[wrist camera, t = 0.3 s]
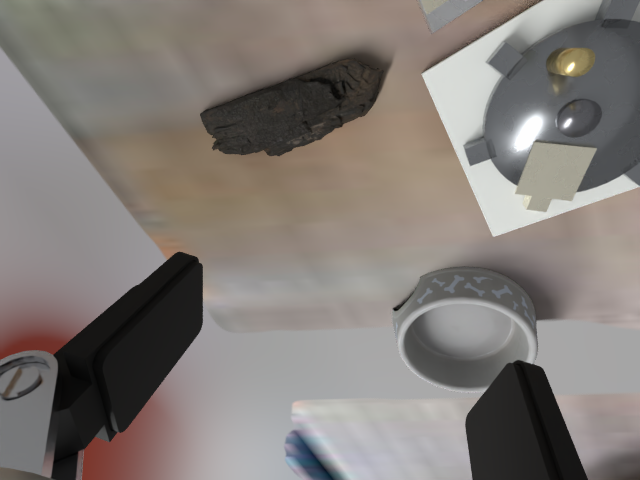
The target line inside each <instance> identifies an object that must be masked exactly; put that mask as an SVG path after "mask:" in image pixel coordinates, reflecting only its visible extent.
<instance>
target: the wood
mask: <svg viewBox="0 0 640 480" xmlns="http://www.w3.org/2000/svg"><path fill="white" fill-rule="evenodd" d="M382 74H383V70H380V69H378V68H377V69H372V68H370V67H369V66H368V65H365V64H362V63H361V62H359V61H357V60H355V59H345V60H341V61H339V62H336V63H331V64H329V65H327V66H325V67H323V68H320V69H318V70H316V71H313V72H309V73H307V74H305V75H302V76H299V77H297V78H294V79H289V80H288V81H286V82H283V83H280V84H278V85H277V86H273V87H270V88H267V89H263V90H260V91H258V92H255V93H251V94H247V95H246V96H244V97H241V98H238V99H235V100H233V101H231V102H229V103H227V104H225V105H222V106H217V107H215V108H213V109H210V110H206V111H204V112H202V113H201V114H200V116H201V119H202V122H203V124H204V126H205V128H206V130H207V132H208V133H209V134H210V135H213V137H212V138H216V139H217V140H216V141H215V142H214V145H213V147H212V149H213V150H215V149H219V151H222V152H223V153H225V154H241V155H246V154H250V153H254V152H255V153H257V152H260V151H262V150H264V151H265V152H266V153H267V155H269V156H274V155H277V156H280V155H282V154H284V153H286V152H289V151H292V149H293V148H296V147H300V146H305V145H307V144H309V143H311V142H314V141H315V140H321V139H322V138H323V137H324V136H325V135H326V134H328V133H330V132H332V131H333V129H334V128H339V127H342V125H343V124H344V123H347V122H349V121H352V120H354V119H356V118H358V117H362V116H365V115H366V114H367V112H368V111H369V110H370V109H371V107H372V106H373V104H374V102H375V100H376V96H377V94H378V92H377V90H378V87H379V83H380V79H381V76H382Z"/></svg>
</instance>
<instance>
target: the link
mask: <svg viewBox="0 0 640 480" xmlns="http://www.w3.org/2000/svg"><path fill="white" fill-rule="evenodd" d="M481 1H483V0H417V2H418V5H419V7H420V9H421V12H422V14H423V17H424V19H425V22H426V24H427V26H428V29H429V31H430V34H432V33H434V32H435V31H437V30H438V29H440V28H442V27H443V26H445V25H446V24H448V23H449V22H451V21H452V20H454V19H455V18H457V17H458V16H460V15H461V14H463V13H465V12H466V11H468V10H469V9H471V8H472V7H474V6H475V5H477V4H478V3H480V2H481Z"/></svg>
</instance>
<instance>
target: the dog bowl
mask: <svg viewBox="0 0 640 480" xmlns="http://www.w3.org/2000/svg"><path fill="white" fill-rule="evenodd" d="M392 324H393V328H394V331H395V336H396V341H397V346H398V350H399V353H400V356H401V358H402V359H403V361H404V363H405V364H406V365H407V366H408V368H409V369H410V370H411V371H412V372H413V373H415V374H416V375H417V376H418V377H420V378H422V379H423V380H425V381H426V382H428V383H430V384H432V385H435V386H437V387H440V388H443V389H447V390H452V391H457V392H467V393H471V392H472V393H474V392H475V393H476V392H485V391H486V390H487V389H488V387H489V386H490V385H491V383H492V382H493V381H494V380H495V378H496V377H497V376H498V374H499V373H500V372H501V371H502V369H503V368H504V367H505V365H506V364H507V363H513V362H514V361H516V360H521V361H524V362H527V363H531V364H534V362H535V360H536V356H537V352H538V342H537V331H536V313H535V309H534V306H533V303H532V301H531V299H530V297H529V296H528V294H527V293H526V292H525V291H524V289H523V288H522V287H520V286H519V285H518V284H517V283H516V282H514V281H513V280H511V279H510V278H508V277H506V276H504V275H502V274H499V273H497V272H494V271H491V270H487V269H482V268H475V267H453V268H446V269H441V270H437V271H434V272H431V273H428V274H425V275H423V276H421V277H420V280H419V284H418V286H417V288H416V290H415V291H414V293H413V294H412V296H411V297H410V298H409V299H408V301H407V302H406V303H405V304H404V305H403V306H402V307H401V308H400V309H399V310H398V311H394V310H393V309H392Z"/></svg>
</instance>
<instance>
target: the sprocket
mask: <svg viewBox="0 0 640 480" xmlns="http://www.w3.org/2000/svg"><path fill="white" fill-rule="evenodd" d="M639 2H640V0H603V1H602V3H601V6H600V8H599V11H598V13H597V16H596V18H595V20H594V21H587V22H582V23H578V24H574V25H571V26H568V27H565V28H562V29H560V30H557V31H555V32H553V33H551V34H549V35H547V36H545V37H544V38H542V39H540V40H539V41H537V42H536V43H534V44H533V45H531V46H530V47H529V48H527V49H526V50H525V51H524V52H522V53H521V54H520V53H519V52H518V51H516V50H515V49H514V48H513V47H511V46H510V45H509V44H508V43H507V42H502V43H501V44H500V45H499V46H498V47H497V49H496V50H495V51H494V52H493V53H492V55H491V56H490V57H489V58H488V59H487V61H486V62H485V63H487V64H488V65H489V66H490V67H491V68H493V69H494V70H495V71H496V72H498V73H499V74H500V75H501V77H500V78H499V80H498V81H497V83H496V84H495V86H494V88H493V90H492V92H491V94H490V96H489V99H488V101H487V104H486V108H485V112H484V116H483V124H482V128H483V138H480V139H478V140H475V141H473V142H470V143H467V144H465V145H463V147H464V150H465V154H466V157H467V160H468V163H469V165H470V166H472V165H475V164H478V163H481V162H483V161H486V160H489V159H491V161H492V163H493V164H494V165H495V167H496V168H497V170H498V171H499V172H500V173H501V174H502V175H503V176H504V177H505V178H506V179H507V180H509V181H510V182H512V183H513V184H515V185H517V187H516V190H515V194H519V195H525V198H524V201H523V203H522V204H523V205H524V207H525V208H526V210H534V211H541V212H547V209H548V207H549V205H550V203H551V200H552V199H558V200H566V201H572V200H573V198H574V196H575V194H576V193H577V192H582V191H586V190H589V189H592V188H596V187H598V186H601V185H603V184H606V183H608V182H610V181H612V180H614V179H616V178H618V177H620V176H621V175H624V176H625V177H627V178H628V179H629V180H630V181H632V182H634V183H635V184H637V185H639V186H640V22H637V21H632V17H633V15H634V13H635V11H636V8H637V6H638V4H639Z"/></svg>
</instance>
